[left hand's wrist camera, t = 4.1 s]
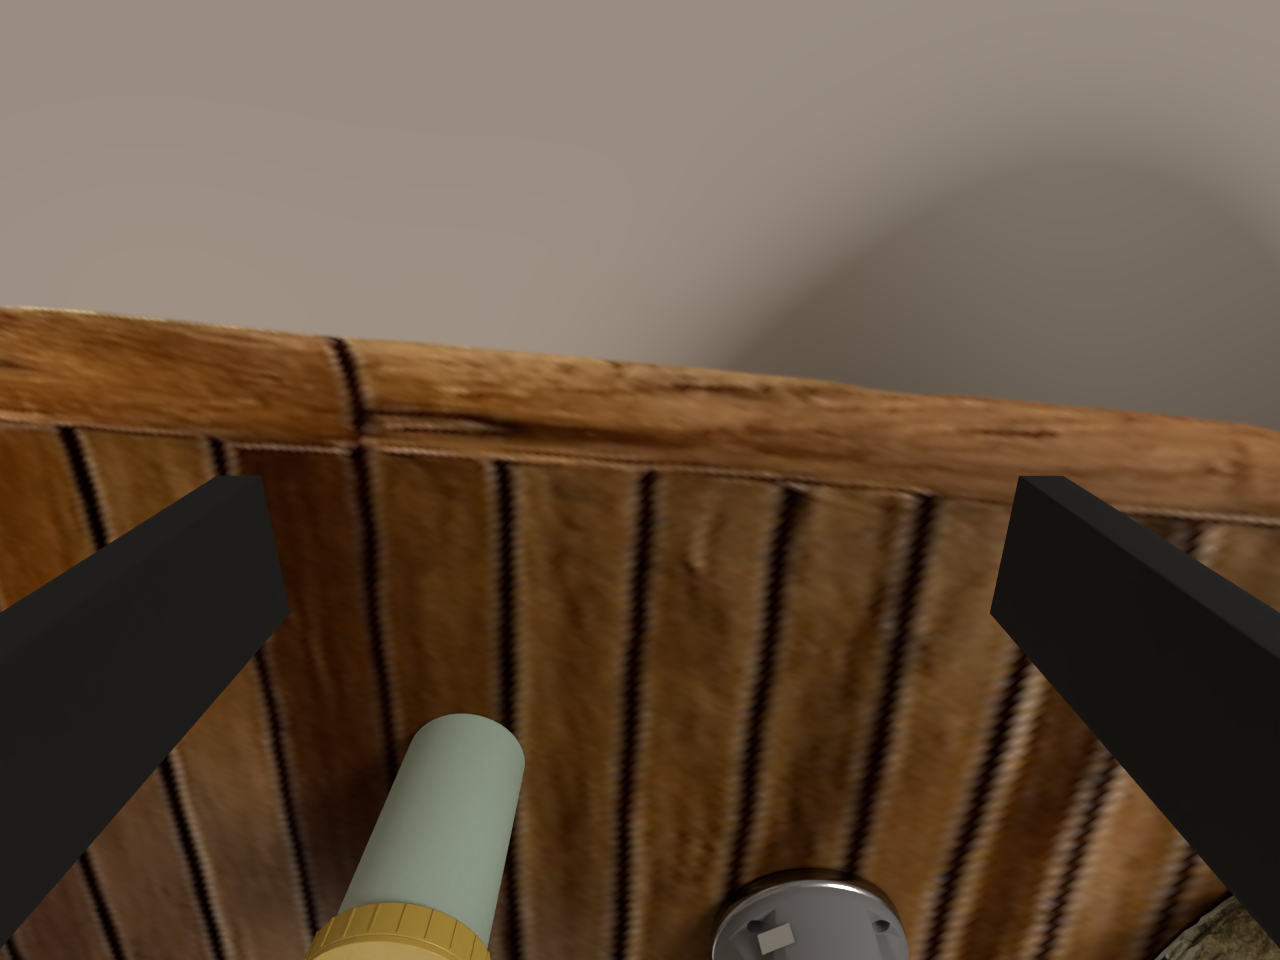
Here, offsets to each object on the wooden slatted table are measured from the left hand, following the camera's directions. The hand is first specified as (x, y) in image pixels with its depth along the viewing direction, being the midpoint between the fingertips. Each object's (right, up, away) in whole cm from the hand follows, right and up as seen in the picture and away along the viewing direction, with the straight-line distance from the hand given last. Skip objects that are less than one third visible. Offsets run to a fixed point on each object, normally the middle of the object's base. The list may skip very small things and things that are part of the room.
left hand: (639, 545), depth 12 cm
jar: (-12, -19, +37) cm, 44 cm away
